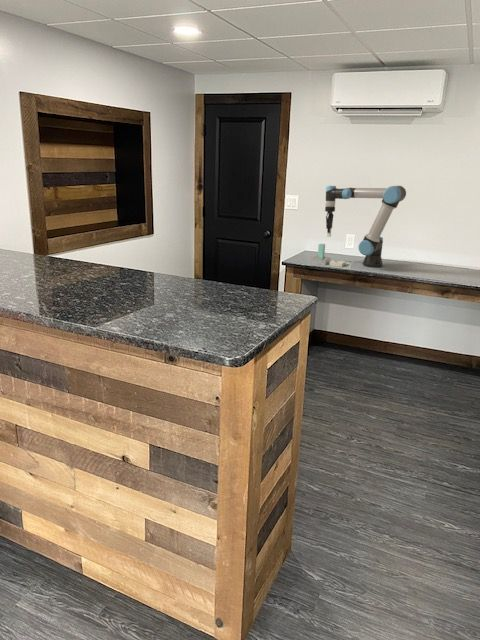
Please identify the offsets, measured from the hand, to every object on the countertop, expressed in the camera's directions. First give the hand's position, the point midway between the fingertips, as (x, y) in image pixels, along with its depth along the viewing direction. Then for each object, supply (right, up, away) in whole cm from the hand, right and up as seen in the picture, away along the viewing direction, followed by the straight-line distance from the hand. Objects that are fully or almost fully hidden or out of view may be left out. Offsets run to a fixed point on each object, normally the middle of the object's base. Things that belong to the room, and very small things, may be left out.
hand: (328, 236), depth 398 cm
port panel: (-6, -20, +5) cm, 21 cm away
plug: (-6, -20, +5) cm, 21 cm away
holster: (+7, -22, -1) cm, 23 cm away
